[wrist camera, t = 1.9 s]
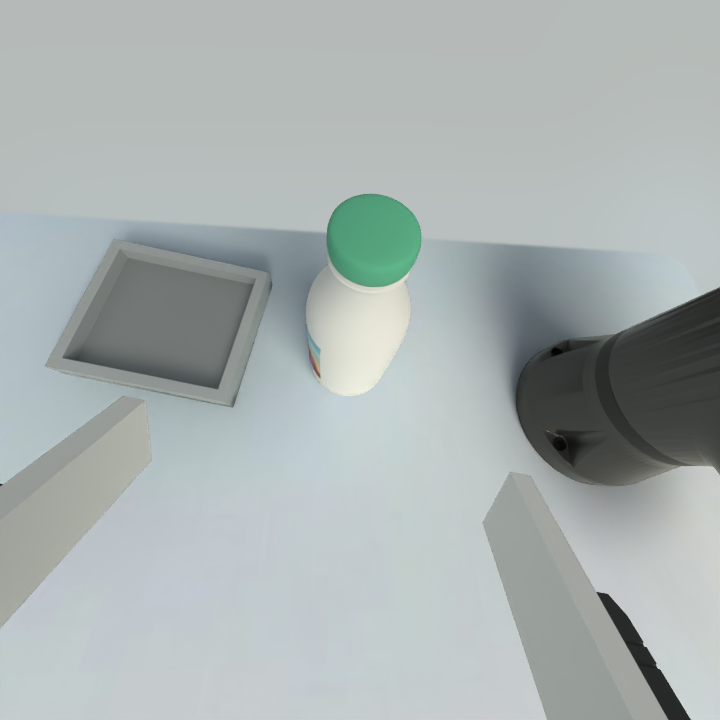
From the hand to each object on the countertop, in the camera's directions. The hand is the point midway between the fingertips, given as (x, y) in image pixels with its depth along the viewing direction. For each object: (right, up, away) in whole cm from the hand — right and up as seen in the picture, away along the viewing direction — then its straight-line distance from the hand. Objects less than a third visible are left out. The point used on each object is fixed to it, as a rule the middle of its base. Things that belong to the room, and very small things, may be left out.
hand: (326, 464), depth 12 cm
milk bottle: (0, +4, +22) cm, 23 cm away
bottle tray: (-18, +7, +22) cm, 29 cm away
